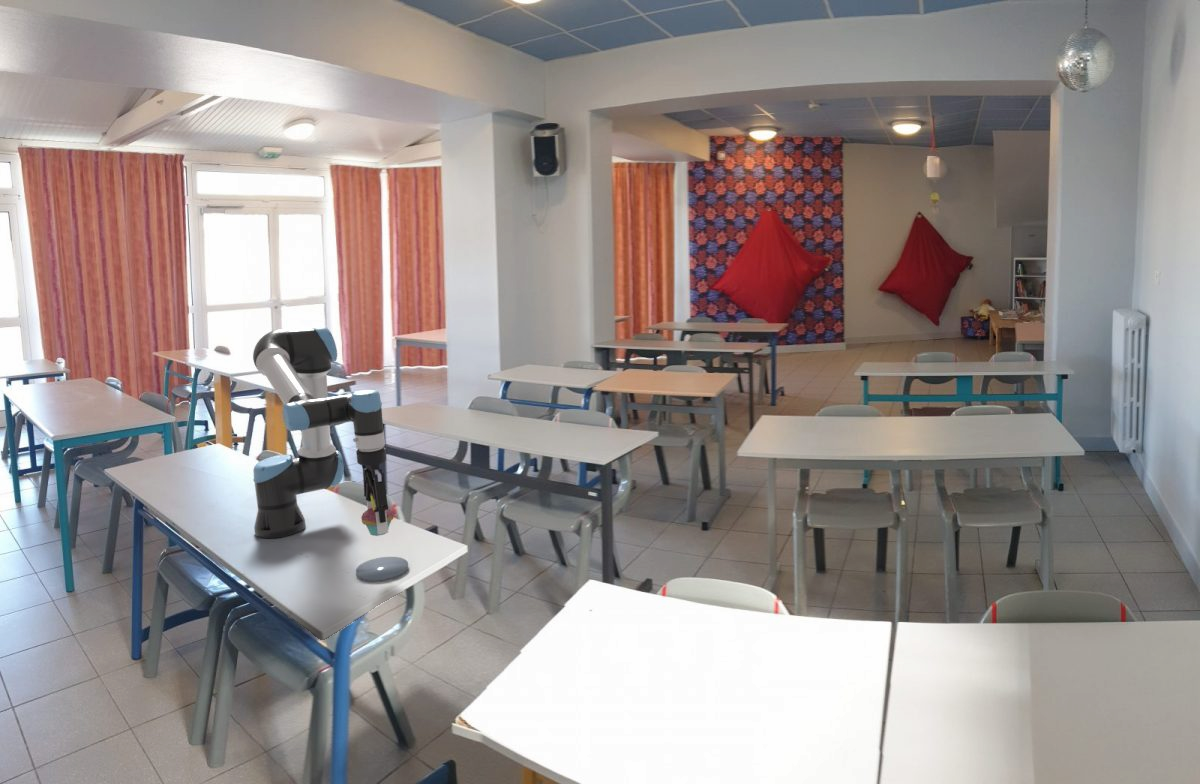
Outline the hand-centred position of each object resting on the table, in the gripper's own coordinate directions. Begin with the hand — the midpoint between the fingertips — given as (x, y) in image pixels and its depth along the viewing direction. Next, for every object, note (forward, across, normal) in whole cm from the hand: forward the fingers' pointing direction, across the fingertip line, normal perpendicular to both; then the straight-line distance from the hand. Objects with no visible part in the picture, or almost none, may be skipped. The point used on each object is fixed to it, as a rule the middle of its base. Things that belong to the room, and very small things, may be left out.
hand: (378, 528), depth 218 cm
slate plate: (+13, 0, 0) cm, 13 cm away
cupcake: (+2, 0, 0) cm, 2 cm away
